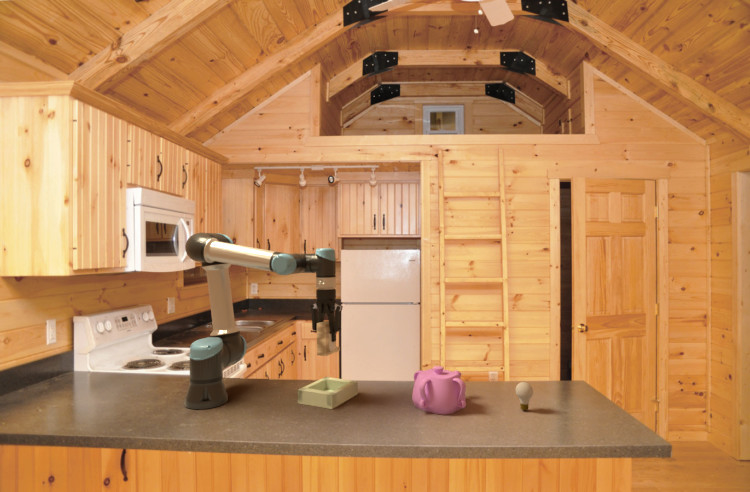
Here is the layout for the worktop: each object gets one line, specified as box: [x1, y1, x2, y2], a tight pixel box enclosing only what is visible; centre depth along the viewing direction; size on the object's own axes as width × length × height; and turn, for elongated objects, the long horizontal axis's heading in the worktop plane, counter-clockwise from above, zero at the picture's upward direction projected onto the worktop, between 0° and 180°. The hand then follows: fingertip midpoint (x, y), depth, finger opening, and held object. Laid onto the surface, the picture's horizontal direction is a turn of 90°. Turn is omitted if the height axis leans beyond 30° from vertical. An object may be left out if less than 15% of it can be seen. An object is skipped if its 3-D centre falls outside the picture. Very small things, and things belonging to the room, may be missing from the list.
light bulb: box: [515, 381, 534, 412], centre depth 156 cm, size 6×6×10 cm
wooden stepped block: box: [316, 320, 341, 357], centre depth 171 cm, size 4×10×12 cm, turn 153°
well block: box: [297, 376, 359, 410], centre depth 171 cm, size 15×19×5 cm
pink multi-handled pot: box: [411, 365, 467, 416], centre depth 163 cm, size 19×21×14 cm
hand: (326, 349), depth 170 cm, fingers closed on wooden stepped block, 4 cm apart
